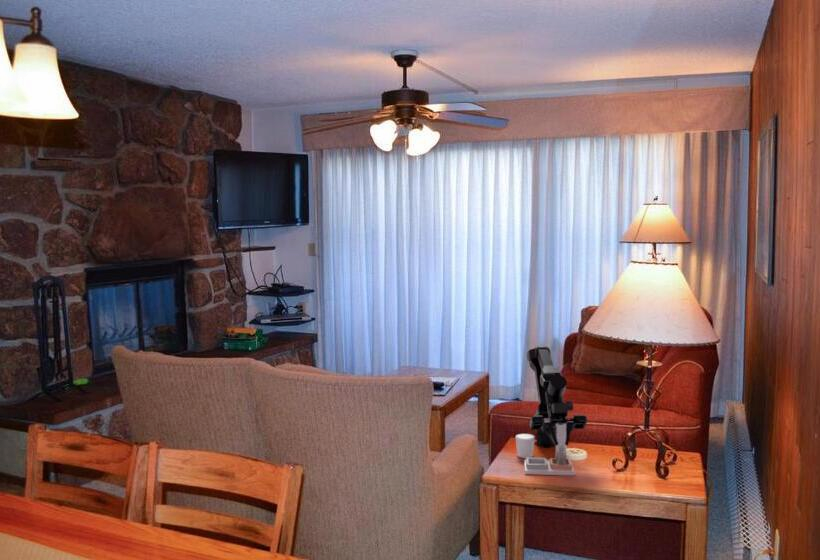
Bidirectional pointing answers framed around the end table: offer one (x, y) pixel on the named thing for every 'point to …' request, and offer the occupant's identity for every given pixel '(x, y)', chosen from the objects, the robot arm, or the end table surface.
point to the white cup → (525, 445)
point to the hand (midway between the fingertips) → (561, 445)
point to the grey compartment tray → (547, 467)
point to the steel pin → (560, 443)
